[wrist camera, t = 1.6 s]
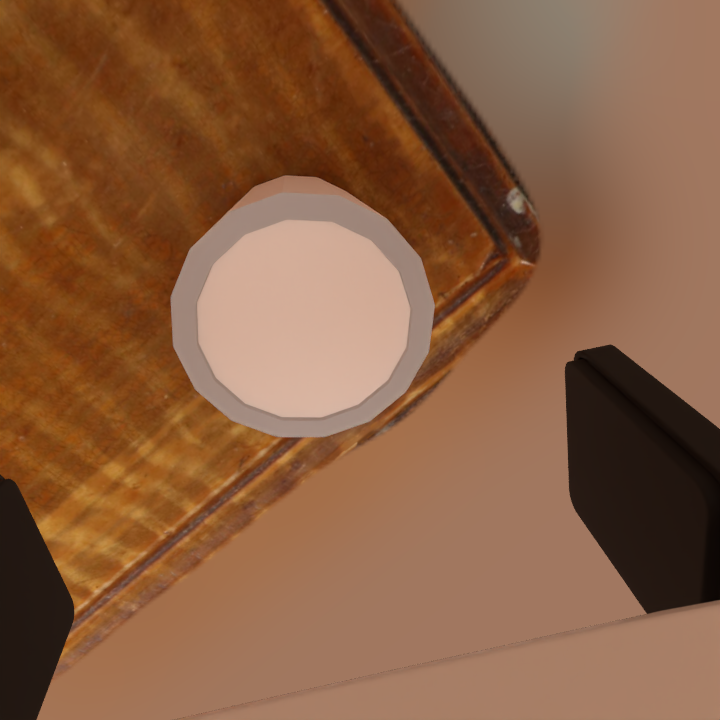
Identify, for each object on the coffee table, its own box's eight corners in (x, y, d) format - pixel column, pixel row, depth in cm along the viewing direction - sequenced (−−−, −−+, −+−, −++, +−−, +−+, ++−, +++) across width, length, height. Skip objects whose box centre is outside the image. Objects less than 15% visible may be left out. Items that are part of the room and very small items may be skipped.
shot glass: (425, 285, 24) (478, 364, 17) (270, 374, 24) (266, 481, 18) (332, 115, 21) (354, 135, 15) (159, 222, 22) (109, 286, 15)
